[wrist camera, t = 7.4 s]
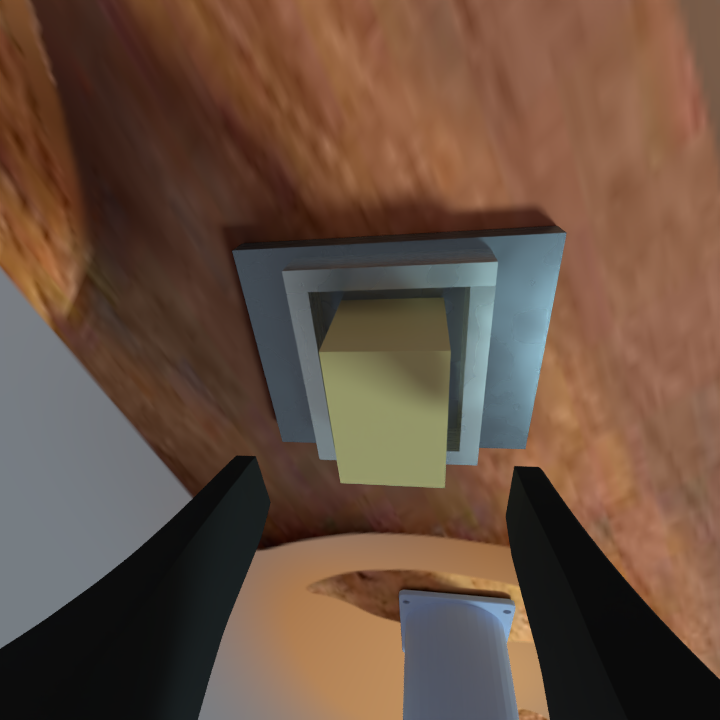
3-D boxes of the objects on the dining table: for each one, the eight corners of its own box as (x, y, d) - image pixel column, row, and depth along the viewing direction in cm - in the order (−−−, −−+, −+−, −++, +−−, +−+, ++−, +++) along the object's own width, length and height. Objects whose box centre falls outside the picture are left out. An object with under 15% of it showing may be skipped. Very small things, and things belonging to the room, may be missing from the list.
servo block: (440, 418, 18) (445, 488, 14) (355, 416, 18) (340, 482, 15) (443, 297, 15) (450, 350, 11) (341, 300, 15) (318, 351, 12)
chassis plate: (520, 434, 19) (533, 473, 17) (288, 428, 21) (273, 463, 19) (557, 225, 14) (582, 245, 12) (242, 243, 16) (214, 262, 13)
